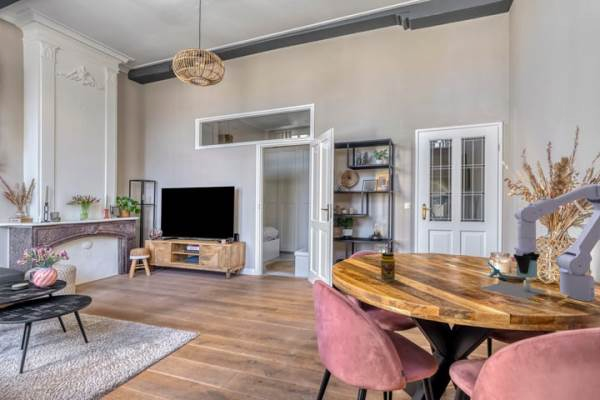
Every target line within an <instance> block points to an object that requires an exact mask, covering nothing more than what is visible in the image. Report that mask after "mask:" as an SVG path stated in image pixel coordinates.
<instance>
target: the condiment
mask: <svg viewBox="0 0 600 400" xmlns="http://www.w3.org/2000/svg"><path fill="white" fill-rule="evenodd" d="M394 255H395V254H394V253H393V252H382V253H381V260H380V261H381V264H380V265H381V267H380V268H381V269H380V276H377V277H376V276H374V277H375V278H376V279H379V280H381V281H385V282H393V281H398V280H400V279H399V278H396V274H395V273H396V272H395V268H396V267H395V265H396V263H395V259H394V258H395V256H394Z"/></svg>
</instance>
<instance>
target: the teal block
mask: <svg viewBox="0 0 600 400" xmlns="http://www.w3.org/2000/svg"><path fill="white" fill-rule="evenodd" d="M516 276H517V277H521V278H523V277H524V278H528V279H534V278H537V277H538V260H537V261H533V260H530V263H529V269H528V273H527V274H524V273H520V270H519V266H518V263H517V262H516Z"/></svg>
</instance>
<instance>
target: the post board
mask: <svg viewBox="0 0 600 400" xmlns="http://www.w3.org/2000/svg"><path fill="white" fill-rule="evenodd" d="M480 289H482V290H486V291H490V292H494V293H495V292H496V293H500V294H504V295H508V296H513V297H518V298H522V299H526V300H528V299H531V298H533V297H535V296H538V295H541V294H543V293H545V292H546V290H544V289H540V288H539V289H538V288H533V287H531V280H526V279H524V280H523V285H518V284H513V283H509V282H508V283H507V282H503V281H500V282H498V283H494V284H491V285H488V286H483V287H480Z"/></svg>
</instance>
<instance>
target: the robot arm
mask: <svg viewBox="0 0 600 400" xmlns="http://www.w3.org/2000/svg"><path fill="white" fill-rule="evenodd" d="M579 199H584V200H586V201H587V202H588V203H589V204H591V206H592V208H594V212H593V213H592V215H591V216H590V218H589V219H588V221H587V222H586V223H585V226H584V227H583V229H582V230H581V231H580V234H579V235H578V237H576V240H575V241H574V242H573V244H572V245H571V246H570V247H567V248H566V249H565V250H564V251H563V252H562V253H560V254H559V255H557V256H556V259H555V263H556V265H557V267H559V294H562V295H565V296H566V298H568V299H573V300H578V301H581V302H582V301H583V302H586V303H589V302H591V301H593V300H595V299H596V296H595V293H596V292H595V278H594V276H592V275H587V273H588V272H589V270H590V267H591V262H592V260H593V257H592V254H591V252H592V251H593V249H594V248H595V246H596V245H597V243H598V242H599V240H600V183H589V184H586V185H583V186H579V187H576V188H575V189H572V190H570V191H567V192H565V193H563V194H561V195H558V196H557V197H554V198H551V197H541V198H540V199H539V200H537V201H535V202H533V203H527V206H521V207H519V208H518V209H516V210H515V213H514V218H515V219H516V220H517V247H514V248H513V249H514V250H515V253H513V257H514V259H515V261H516V264H517V263H518V266H519V270H520V273H524V274H527V273H528V269H529V263H530V260H533V261H537V262H538V260H539V258H540V257H541V254H539V253H538V247H537V222H536V221H538V220H539V218H542V217H544V216H547V215H549V214H553V213H554V212H557V211H558V209H559V207H560V206H563V205H566V204H569V203H572V202H575V201H578V200H579Z"/></svg>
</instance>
